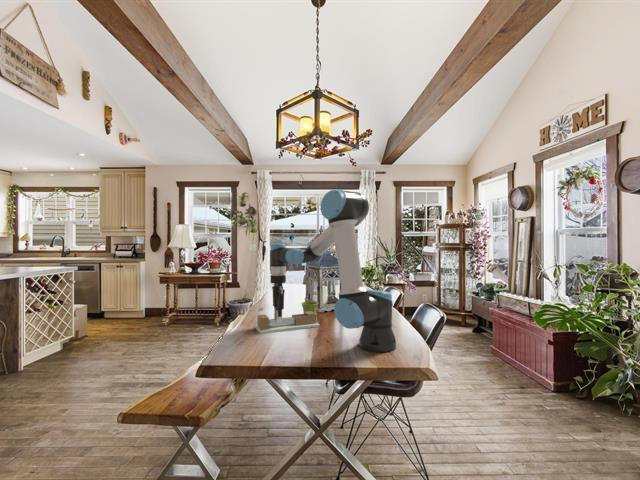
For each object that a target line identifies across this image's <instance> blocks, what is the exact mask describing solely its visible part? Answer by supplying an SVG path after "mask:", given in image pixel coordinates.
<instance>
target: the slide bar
mask: <svg viewBox="0 0 640 480" xmlns="http://www.w3.org/2000/svg"><path fill="white" fill-rule="evenodd" d="M273 308H274V311H273V312H274V313H273V314H274V315H273V317H274V316H275V319H274V318H269V326H270V327H274V326H283V325H292V324H295V317H292V316H289V317H282V323H276V309H277V307H274V306H273ZM297 317H300V316H297Z"/></svg>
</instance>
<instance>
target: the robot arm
mask: <svg viewBox="0 0 640 480" xmlns="http://www.w3.org/2000/svg"><path fill="white" fill-rule="evenodd" d="M369 203H370V202H369V201H368V198H367V197H366V196H365V195H364V194H362V193H360V192H357V191H349V190H343V189H331V190H329V191H327V192H326V193H325V194H324V195H323V197H322V199H321V201H320V213H321V215H322V216H323V218H325V219H326V220H327V221H328V226H327V228H326V229H325V230H324V231H323V232H322V233H321V234H320V235H318V237H317V238H316V239H315V240H314V241H313V242H311V244H310V245H309V246H307V247H287V246H286V244H285V243H271V245H270V251H269V253H270V254H269V256H270V265H269V266H270V268H269V269H270V270H269V272H270V283H271V284H273V286H272V287H271V289H272V306H273V308H274V307H277V309H276V323H282V318H283V310H284V309H285V306H284V305H285V289H284V286H283V284H285V283H286V282H287V276H286V273H287V272H286V271H287V269H288V268H287V267H286V266H287V265H288V264H289V265H299V264H308V263H309V264H311V263H313V264H314V263H318V262H321V261H322V259H323V257H324V253H326V251H328V250H329V249H330V248H331V247H332V246H333V245H334V244H335V251H336V259H337V264H338V265H337V266H338V272H339V273H338V274H339V279H340V280H339V281H340V286H341V287H340V288H341V289H340V291H339V292H338V300H337V301H336V302H335V305H334V308H333V310H334V311H333V312H334V316H335V317H336V318H335V319H336V320H337V321H338V323H339V324H340V325H341V327H344V328H346V329H350V330H351V329H359V328H361V327H362V331H361V333H360V337H359V339H358V346H359V347H360V349H363V350H365V351H370V352H375V353H377V352H378V353H385V352H391V351H394V350H396V349H397V340H396V338H395V334H394V330H393V296H392V293H390V292H389V291H385V290H376V289H367V288H366V287H365V286H364V280H363V276H362V266H361V261H360V254H359V247H358V242H357V235H356V234H357V232H356V227H358V226H359V225H360V224H361V223H362V222H363V221H364V220H365V219H366V217H367V216H368V213H369V210H370V204H369ZM273 317H274V318H273V319H275V316H274V315H273Z"/></svg>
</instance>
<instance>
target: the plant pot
mask: <svg viewBox="0 0 640 480" xmlns="http://www.w3.org/2000/svg"><path fill="white" fill-rule="evenodd" d="M318 305H319V302H316V301H304V302H301V306H302V311H303V313H304V312H307V311H312V312H313V313H315V314H316V315H317V309H318Z"/></svg>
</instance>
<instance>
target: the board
mask: <svg viewBox="0 0 640 480" xmlns="http://www.w3.org/2000/svg"><path fill="white" fill-rule="evenodd" d="M297 316H300V317H297ZM291 317H295V324H292V325H283V326H274V327H270V326H269V319H270V317H268V316H267V315H266V314H259V315H258V314H257V324H255V325H254V328H255V329H256V330H257V331H258V333H259V334H260V335H261V334H262V335H263V334H270V333H271V334H272V333H279V332H286V331H289V332H290V331H295V330H296V329H297V330H303V328H306V329H312V328H311V327H315V328H320V324H319V323H318V322H317V313H316V314H315V313H313V312H312V311H307V312H303V313H298V314H292V315H291Z"/></svg>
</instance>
